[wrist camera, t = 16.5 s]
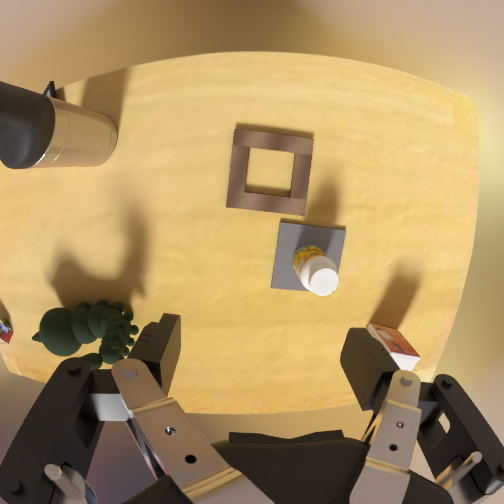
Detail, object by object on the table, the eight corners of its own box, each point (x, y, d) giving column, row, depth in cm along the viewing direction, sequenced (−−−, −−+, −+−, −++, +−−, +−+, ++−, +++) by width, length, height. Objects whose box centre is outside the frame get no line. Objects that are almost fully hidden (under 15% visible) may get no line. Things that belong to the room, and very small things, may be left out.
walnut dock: (226, 206, 42) (226, 207, 41) (234, 130, 39) (234, 129, 38) (302, 215, 43) (304, 215, 42) (312, 140, 39) (313, 139, 38)
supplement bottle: (288, 271, 44) (299, 296, 35) (297, 240, 43) (311, 258, 34) (318, 278, 45) (335, 303, 36) (328, 248, 44) (349, 267, 34)
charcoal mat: (270, 286, 46) (271, 288, 45) (279, 221, 43) (280, 222, 42) (332, 291, 46) (333, 292, 46) (345, 229, 43) (346, 230, 43)
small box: (397, 329, 49) (422, 357, 39) (384, 350, 51) (405, 380, 41) (369, 321, 48) (392, 351, 38) (355, 344, 50) (375, 377, 40)
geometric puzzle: (17, 336, 46) (-9, 335, 39) (14, 350, 47) (-10, 349, 40) (12, 314, 49) (-12, 311, 42) (9, 328, 50) (-13, 326, 43)
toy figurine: (137, 283, 47) (42, 301, 45) (99, 337, 29) (-7, 344, 27) (152, 327, 49) (58, 338, 48) (127, 392, 31) (18, 388, 29)
